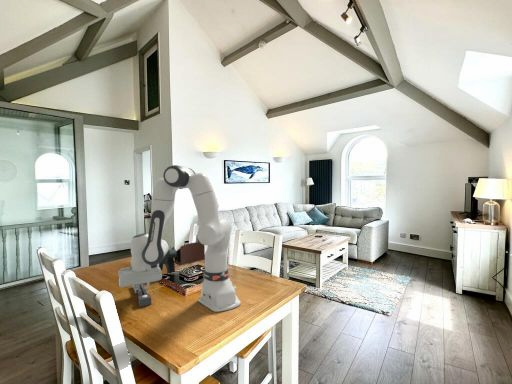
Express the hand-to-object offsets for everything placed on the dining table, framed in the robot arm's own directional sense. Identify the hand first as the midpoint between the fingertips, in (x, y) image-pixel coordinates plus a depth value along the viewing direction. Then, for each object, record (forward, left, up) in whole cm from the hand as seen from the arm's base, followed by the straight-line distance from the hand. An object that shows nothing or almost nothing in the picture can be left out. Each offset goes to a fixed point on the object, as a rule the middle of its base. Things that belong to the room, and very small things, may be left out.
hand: (141, 291), depth 135 cm
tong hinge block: (-12, 0, -2) cm, 12 cm away
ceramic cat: (+28, -18, -2) cm, 33 cm away
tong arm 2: (+2, -1, -1) cm, 3 cm away
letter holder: (+44, -39, -2) cm, 59 cm away
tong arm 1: (+2, +1, -1) cm, 3 cm away
